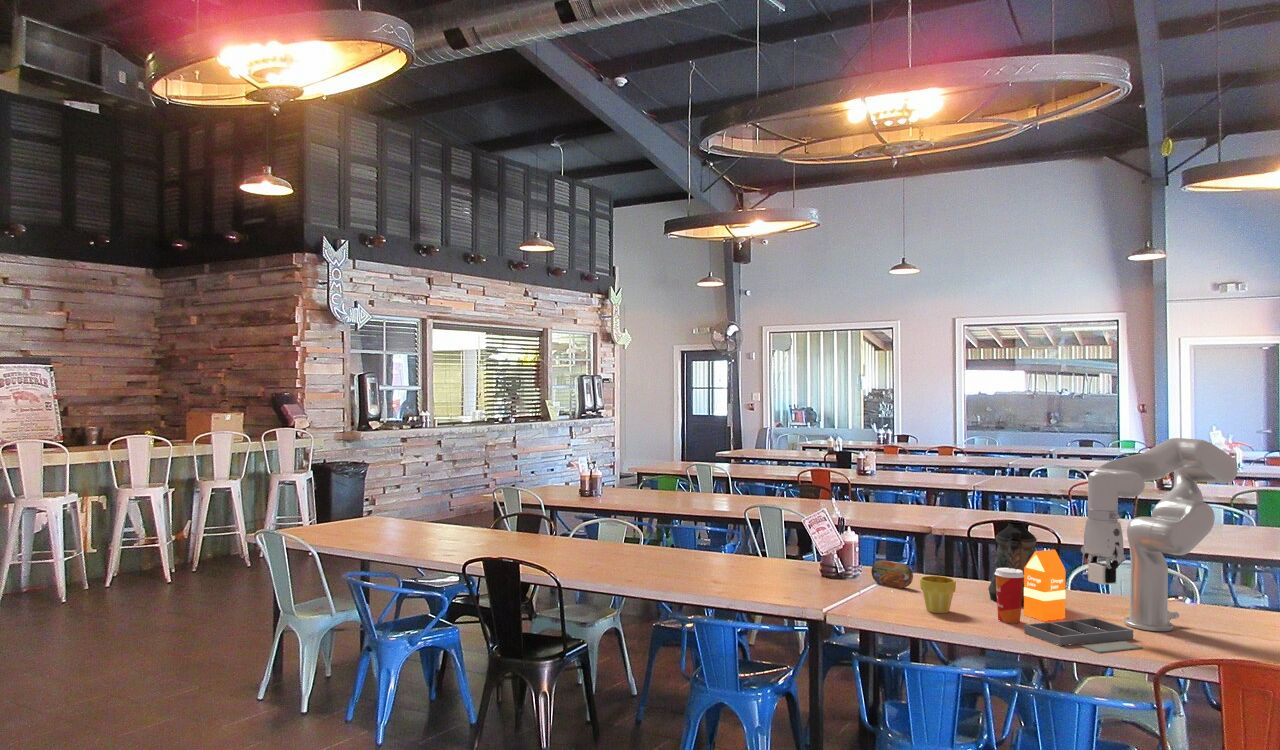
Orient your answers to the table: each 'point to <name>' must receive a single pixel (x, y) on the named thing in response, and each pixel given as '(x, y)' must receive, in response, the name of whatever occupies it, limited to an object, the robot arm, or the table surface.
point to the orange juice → (1044, 586)
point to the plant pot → (937, 593)
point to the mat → (1111, 646)
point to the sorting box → (1073, 637)
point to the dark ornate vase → (1012, 552)
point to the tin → (892, 573)
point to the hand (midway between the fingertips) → (1102, 579)
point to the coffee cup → (1009, 594)
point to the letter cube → (1097, 573)
